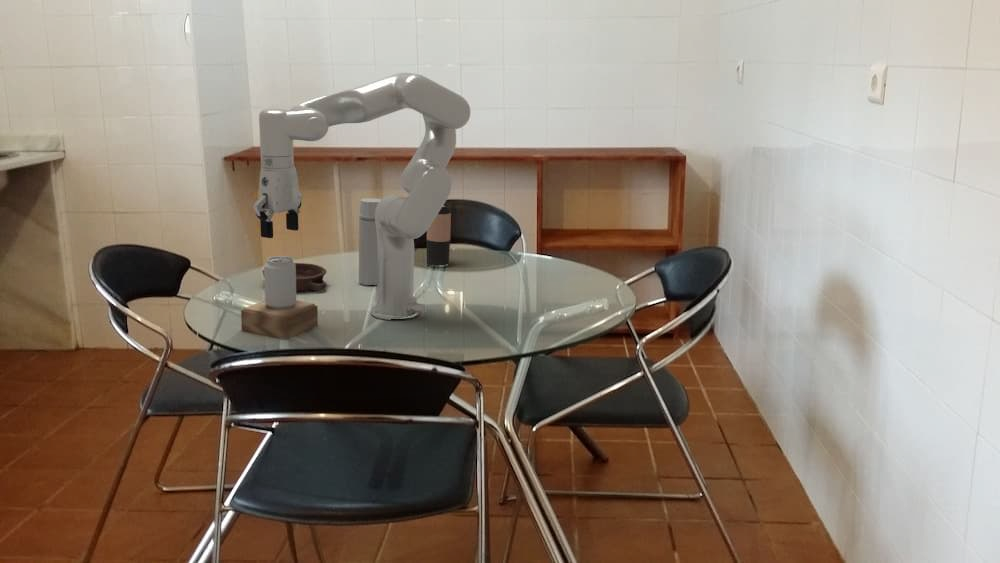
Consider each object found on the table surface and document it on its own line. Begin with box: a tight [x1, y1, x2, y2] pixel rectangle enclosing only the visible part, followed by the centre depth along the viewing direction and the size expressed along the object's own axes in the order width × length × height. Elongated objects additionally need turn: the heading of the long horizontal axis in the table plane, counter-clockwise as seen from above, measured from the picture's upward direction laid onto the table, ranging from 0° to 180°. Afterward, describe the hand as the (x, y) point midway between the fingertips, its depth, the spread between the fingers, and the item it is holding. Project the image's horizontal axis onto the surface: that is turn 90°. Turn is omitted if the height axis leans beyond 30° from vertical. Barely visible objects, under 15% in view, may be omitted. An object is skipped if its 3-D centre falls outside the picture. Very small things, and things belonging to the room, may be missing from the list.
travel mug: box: [426, 202, 452, 265], centre depth 280 cm, size 8×8×20 cm
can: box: [263, 255, 297, 309], centre depth 212 cm, size 8×8×12 cm
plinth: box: [240, 299, 319, 340], centre depth 214 cm, size 13×13×6 cm
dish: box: [262, 262, 327, 293], centre depth 251 cm, size 18×22×5 cm
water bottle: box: [358, 197, 382, 286], centre depth 255 cm, size 9×8×25 cm
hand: (280, 233), depth 208 cm, fingers open, 9 cm apart
